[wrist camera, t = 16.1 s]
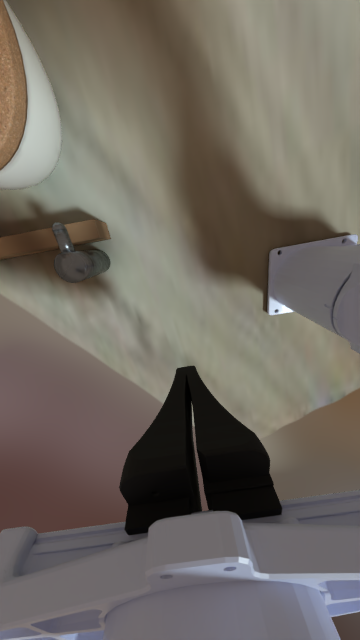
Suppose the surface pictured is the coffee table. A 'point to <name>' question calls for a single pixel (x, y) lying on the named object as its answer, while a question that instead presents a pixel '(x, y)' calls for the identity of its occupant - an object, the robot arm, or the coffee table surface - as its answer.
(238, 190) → the coffee table surface
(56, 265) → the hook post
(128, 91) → the coffee table surface
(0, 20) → the lidded jar
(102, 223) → the walnut shelf
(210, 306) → the coffee table surface
